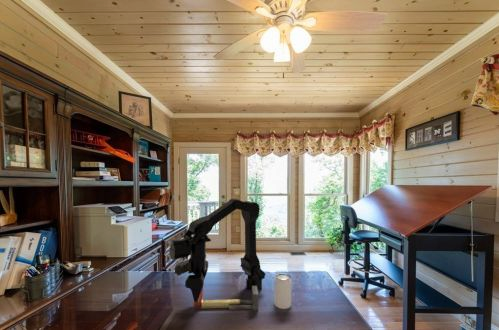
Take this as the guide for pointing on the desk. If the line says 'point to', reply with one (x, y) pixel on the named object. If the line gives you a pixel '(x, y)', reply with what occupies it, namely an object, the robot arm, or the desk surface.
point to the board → (248, 301)
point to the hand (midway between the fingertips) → (197, 295)
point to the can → (282, 291)
